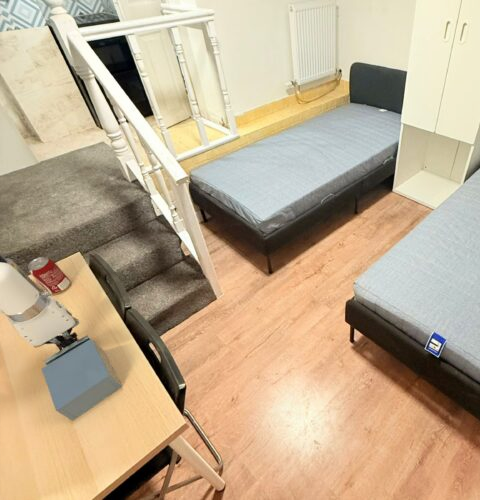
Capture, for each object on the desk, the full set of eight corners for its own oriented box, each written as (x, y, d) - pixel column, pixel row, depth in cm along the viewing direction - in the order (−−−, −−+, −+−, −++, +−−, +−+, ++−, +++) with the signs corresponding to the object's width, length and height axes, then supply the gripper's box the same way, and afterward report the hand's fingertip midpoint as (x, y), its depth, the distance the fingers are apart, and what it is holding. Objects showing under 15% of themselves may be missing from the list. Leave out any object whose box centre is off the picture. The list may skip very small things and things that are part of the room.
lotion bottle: (21, 295, 110) (-25, 253, 96) (41, 286, 113) (-1, 243, 99) (24, 306, 107) (-23, 263, 93) (44, 296, 110) (1, 254, 96)
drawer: (53, 357, 93) (37, 344, 88) (93, 333, 98) (80, 320, 93) (72, 407, 83) (56, 396, 78) (115, 378, 88) (102, 366, 83)
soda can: (76, 283, 113) (55, 258, 105) (57, 297, 109) (34, 273, 101) (62, 277, 116) (41, 252, 107) (44, 291, 111) (20, 267, 103)
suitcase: (61, 383, 89) (41, 368, 82) (107, 354, 94) (91, 338, 88) (77, 423, 81) (55, 410, 75) (125, 390, 87) (109, 375, 80)
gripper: (57, 280, 84) (95, 320, 97) (-14, 315, 77) (37, 353, 90) (64, 297, 80) (103, 337, 93) (-9, 336, 73) (44, 373, 86)
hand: (71, 345), depth 92 cm, fingers closed
